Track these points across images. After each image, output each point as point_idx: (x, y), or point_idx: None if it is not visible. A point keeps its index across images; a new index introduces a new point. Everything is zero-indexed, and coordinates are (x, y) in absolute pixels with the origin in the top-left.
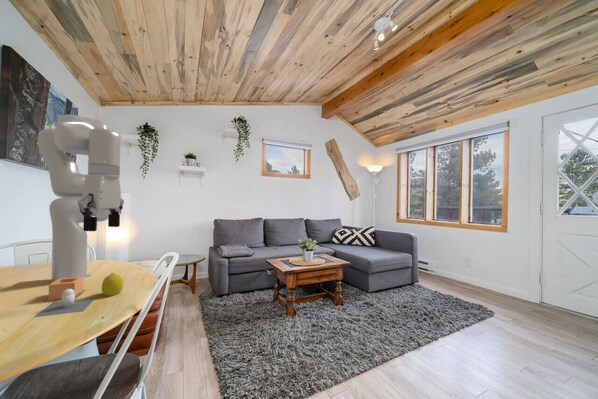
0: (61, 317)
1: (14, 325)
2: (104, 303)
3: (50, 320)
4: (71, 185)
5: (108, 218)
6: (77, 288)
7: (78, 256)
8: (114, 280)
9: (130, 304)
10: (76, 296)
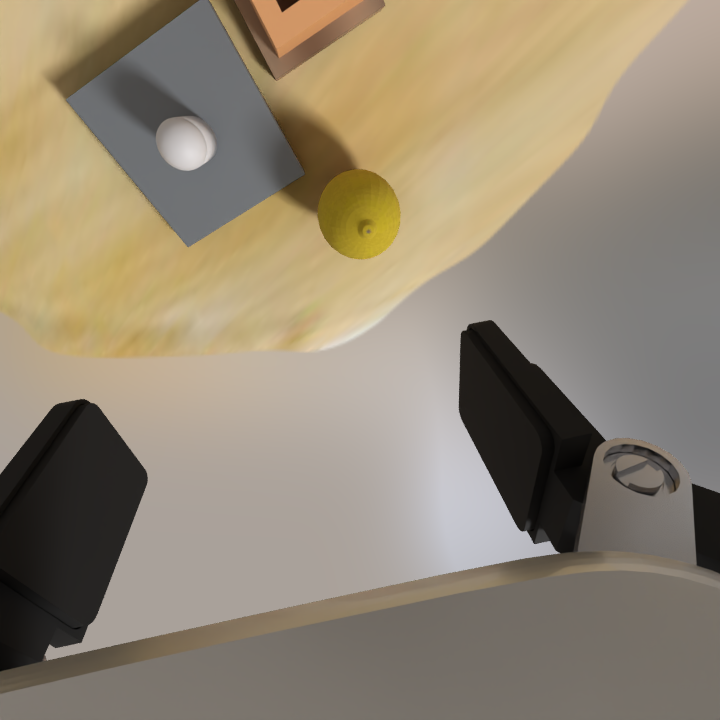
0: None
1: (24, 30)
2: (301, 215)
3: None
4: None
5: (506, 396)
6: (310, 31)
7: None
8: (342, 252)
9: (313, 310)
10: (291, 56)
